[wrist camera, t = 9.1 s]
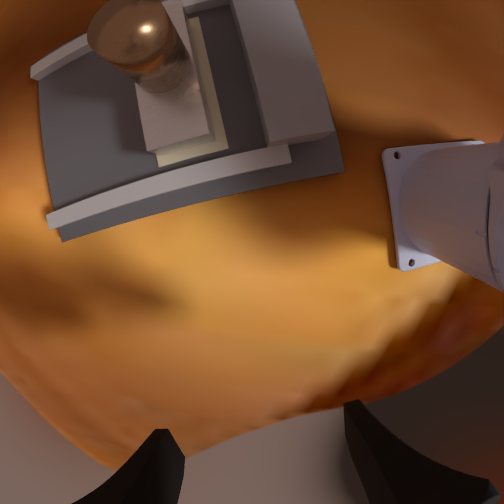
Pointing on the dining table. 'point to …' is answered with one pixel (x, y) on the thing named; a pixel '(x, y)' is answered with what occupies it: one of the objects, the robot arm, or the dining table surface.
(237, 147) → the base
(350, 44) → the dining table surface
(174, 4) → the press handle
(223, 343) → the dining table surface
